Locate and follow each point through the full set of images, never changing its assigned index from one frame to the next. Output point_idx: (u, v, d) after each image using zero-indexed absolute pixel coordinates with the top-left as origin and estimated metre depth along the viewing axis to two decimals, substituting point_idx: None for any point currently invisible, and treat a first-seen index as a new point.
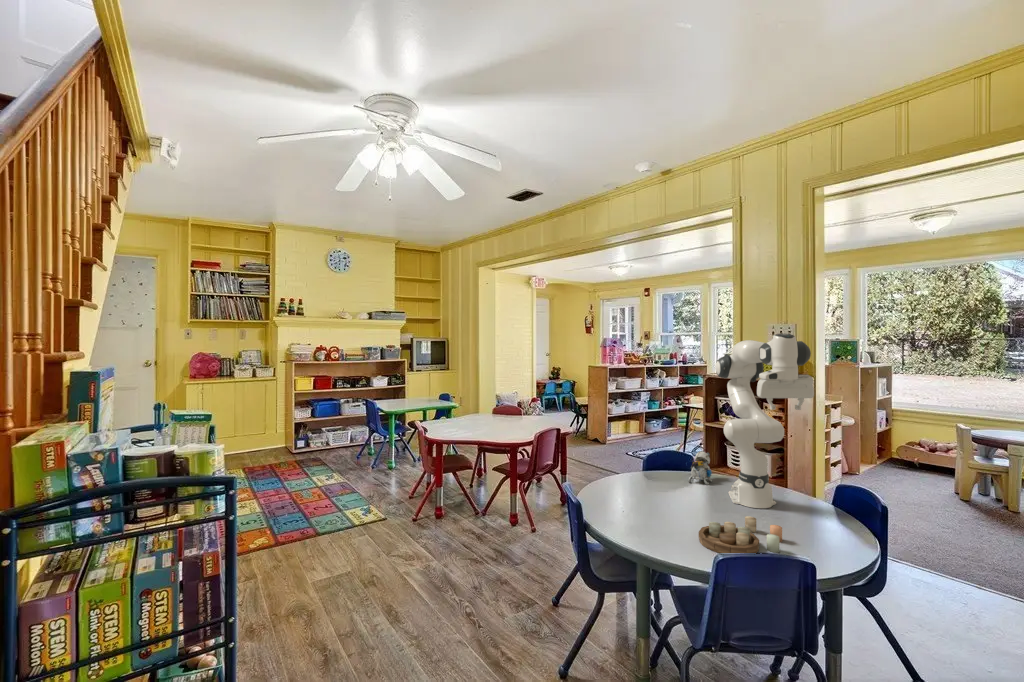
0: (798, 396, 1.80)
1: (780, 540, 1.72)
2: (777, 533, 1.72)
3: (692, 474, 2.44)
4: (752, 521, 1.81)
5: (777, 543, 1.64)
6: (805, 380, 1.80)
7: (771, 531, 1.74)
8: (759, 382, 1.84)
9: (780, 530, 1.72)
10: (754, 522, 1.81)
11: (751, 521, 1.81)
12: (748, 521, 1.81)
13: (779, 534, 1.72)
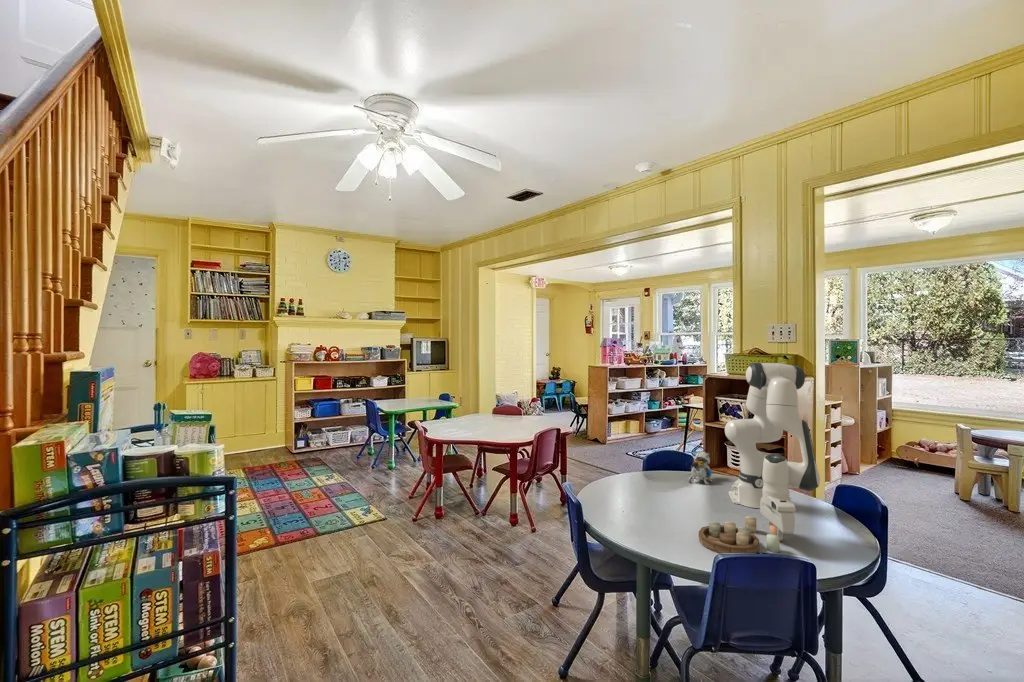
0: None
1: (780, 540, 1.72)
2: None
3: (692, 474, 2.44)
4: (752, 521, 1.81)
5: (777, 543, 1.64)
6: None
7: (771, 531, 1.74)
8: (785, 516, 1.65)
9: None
10: (754, 522, 1.81)
11: (751, 521, 1.81)
12: (748, 521, 1.81)
13: None
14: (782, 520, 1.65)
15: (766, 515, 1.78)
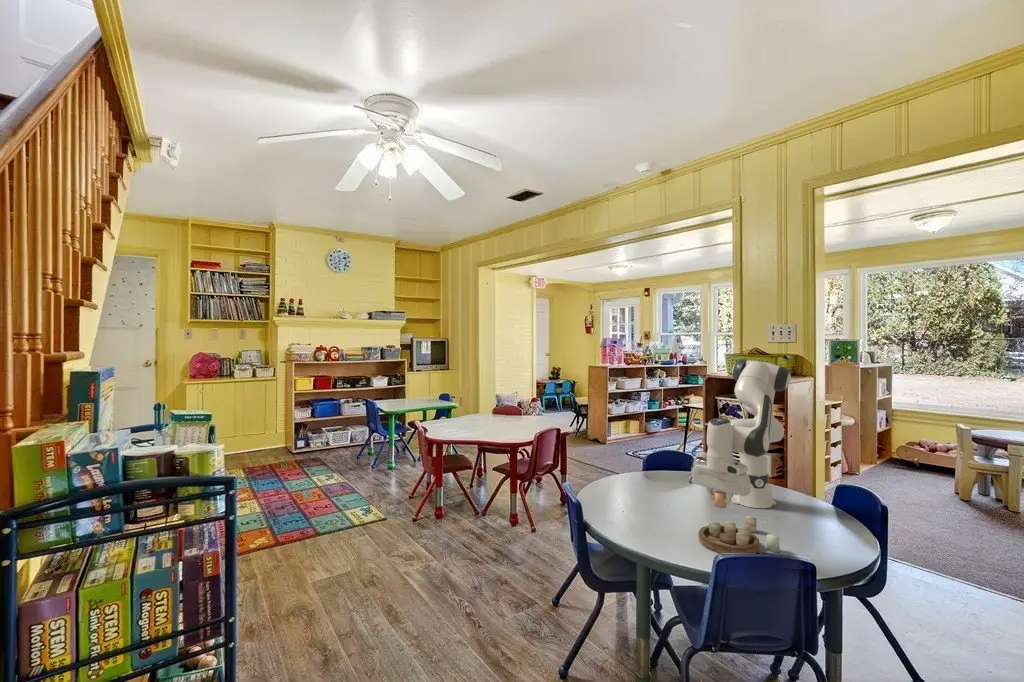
0: None
1: (726, 505, 1.66)
2: (725, 498, 1.66)
3: (692, 474, 2.44)
4: (752, 521, 1.81)
5: (777, 543, 1.64)
6: None
7: (719, 498, 1.66)
8: (745, 478, 1.60)
9: None
10: (754, 522, 1.81)
11: (751, 521, 1.81)
12: (748, 521, 1.81)
13: None
14: (744, 483, 1.59)
15: (707, 483, 1.69)
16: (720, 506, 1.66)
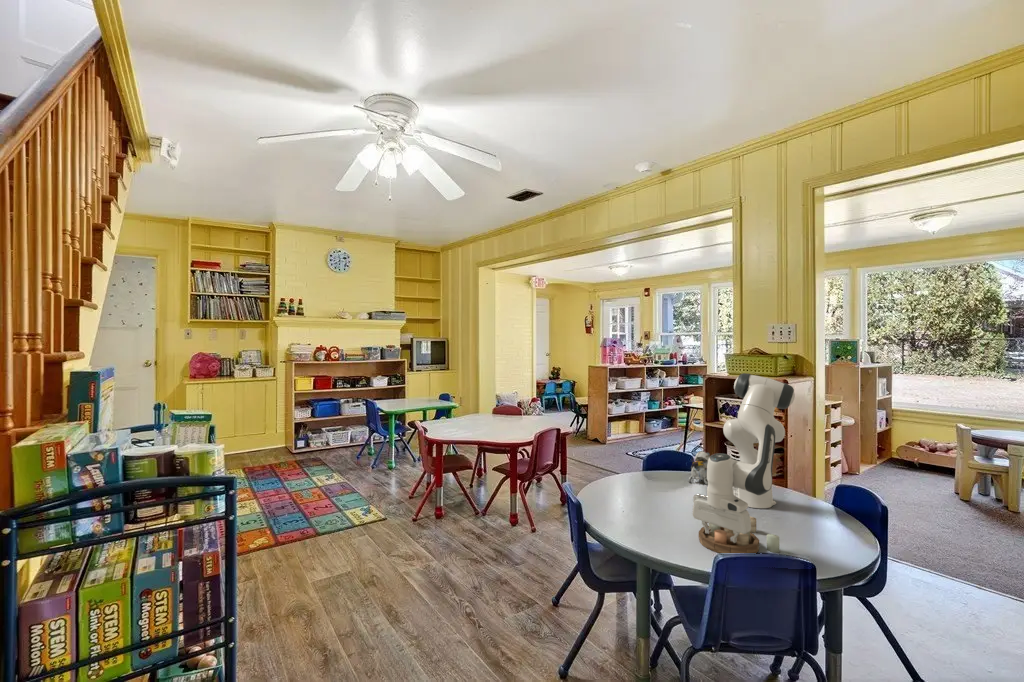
0: None
1: (726, 544, 1.66)
2: (725, 538, 1.66)
3: (692, 474, 2.44)
4: (752, 521, 1.81)
5: (777, 543, 1.64)
6: None
7: (719, 538, 1.66)
8: (745, 516, 1.60)
9: (726, 534, 1.67)
10: (754, 522, 1.81)
11: (751, 521, 1.81)
12: None
13: (726, 538, 1.66)
14: (744, 521, 1.59)
15: (707, 518, 1.69)
16: None
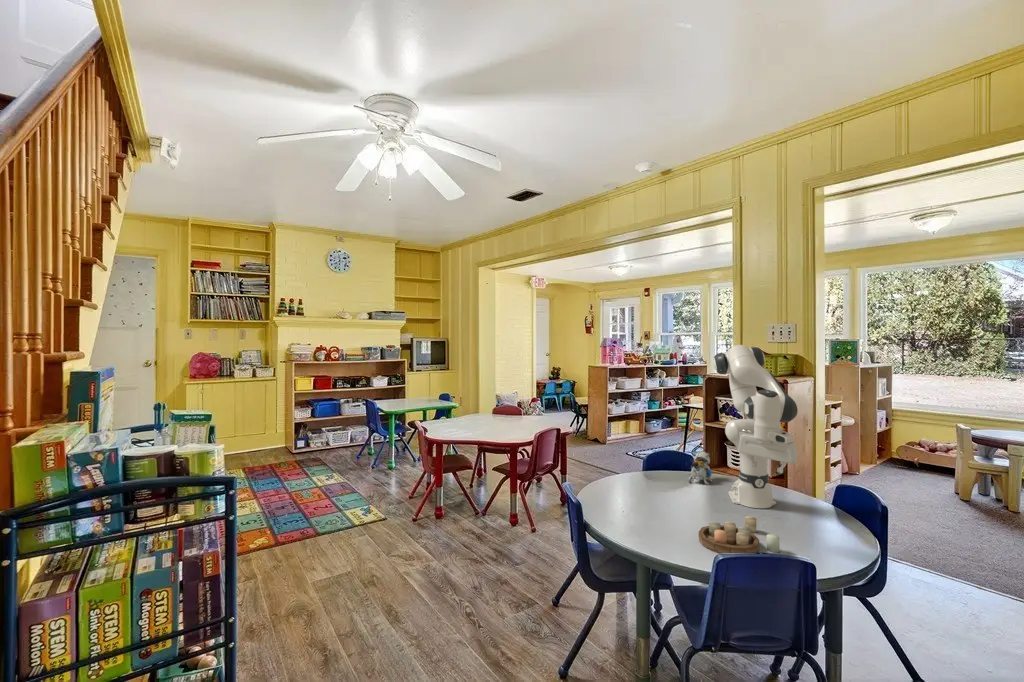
0: None
1: (726, 544, 1.66)
2: (725, 538, 1.66)
3: (692, 474, 2.44)
4: (752, 521, 1.81)
5: (777, 543, 1.64)
6: None
7: (719, 538, 1.66)
8: (793, 447, 1.67)
9: (726, 535, 1.67)
10: (754, 522, 1.81)
11: (751, 521, 1.81)
12: (748, 521, 1.81)
13: (726, 538, 1.66)
14: (792, 451, 1.66)
15: (754, 452, 1.77)
16: None
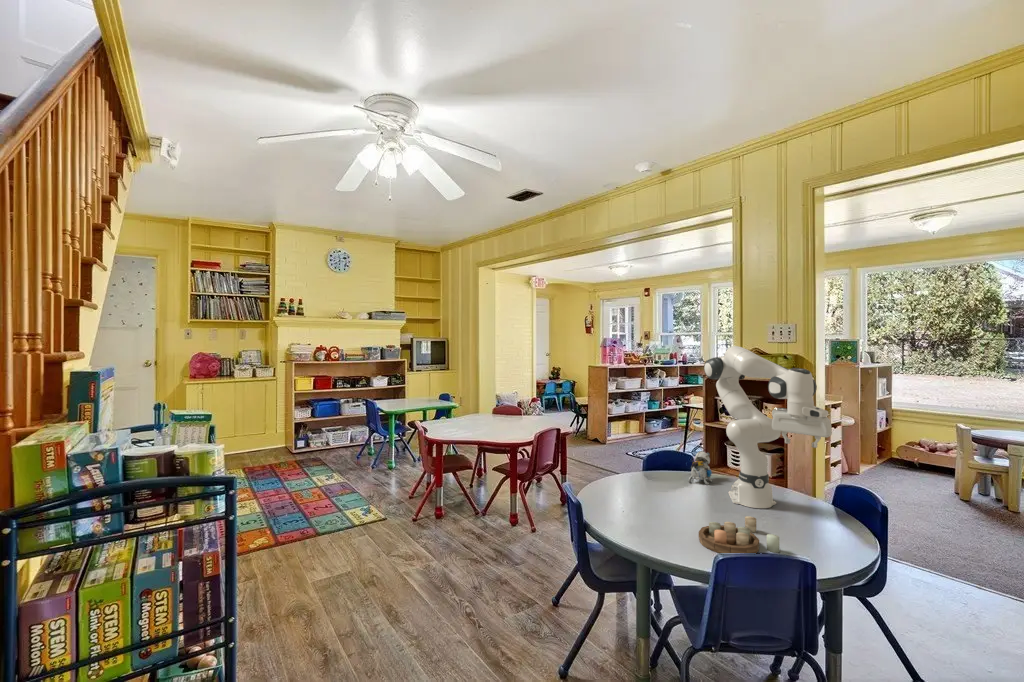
0: None
1: (726, 544, 1.66)
2: (725, 538, 1.66)
3: (692, 474, 2.44)
4: (752, 521, 1.81)
5: (777, 543, 1.64)
6: None
7: (719, 538, 1.66)
8: (827, 421, 1.73)
9: (726, 534, 1.67)
10: (754, 522, 1.81)
11: (751, 521, 1.81)
12: (748, 521, 1.81)
13: (726, 538, 1.66)
14: (827, 425, 1.72)
15: (788, 428, 1.82)
16: None
